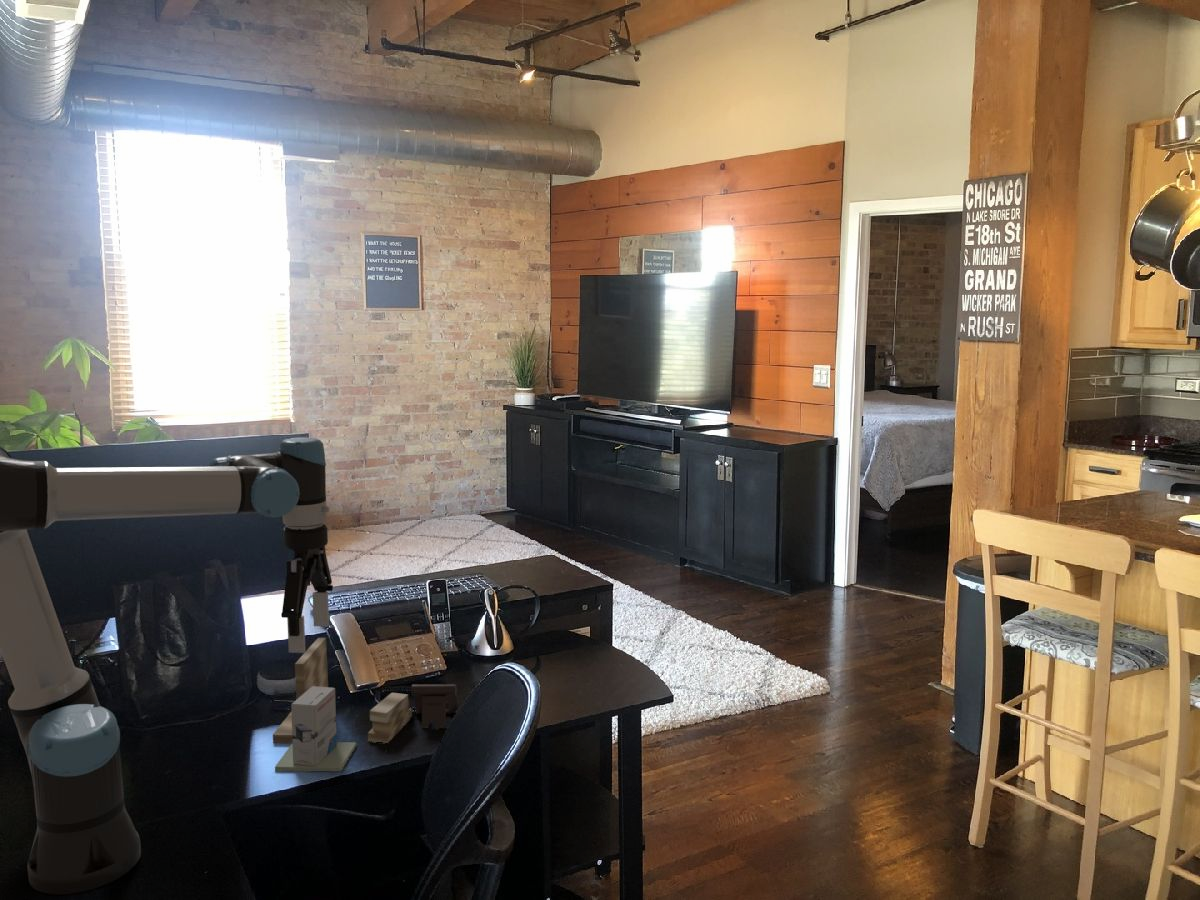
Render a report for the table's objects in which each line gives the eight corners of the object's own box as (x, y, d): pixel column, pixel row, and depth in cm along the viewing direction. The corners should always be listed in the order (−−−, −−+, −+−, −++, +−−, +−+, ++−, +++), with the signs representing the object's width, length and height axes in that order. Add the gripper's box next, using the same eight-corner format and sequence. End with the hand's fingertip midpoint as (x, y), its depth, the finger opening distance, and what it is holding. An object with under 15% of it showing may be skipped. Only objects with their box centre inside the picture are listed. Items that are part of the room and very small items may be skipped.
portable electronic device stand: (460, 711, 202) (459, 673, 201) (456, 728, 194) (455, 689, 193) (417, 712, 202) (416, 673, 201) (411, 729, 194) (410, 689, 193)
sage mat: (340, 772, 177) (340, 767, 177) (275, 770, 177) (274, 766, 177) (356, 746, 187) (356, 742, 186) (293, 745, 187) (293, 741, 187)
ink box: (314, 743, 186) (311, 684, 184) (339, 745, 185) (336, 686, 183) (292, 764, 178) (288, 703, 176) (317, 767, 177) (314, 705, 175)
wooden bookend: (307, 743, 188) (303, 663, 185) (273, 742, 188) (268, 663, 186) (329, 711, 202) (325, 637, 199) (297, 711, 202) (293, 637, 199)
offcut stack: (388, 744, 188) (387, 715, 187) (367, 742, 189) (366, 713, 188) (413, 718, 199) (412, 690, 198) (393, 716, 200) (392, 688, 199)
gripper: (302, 542, 162) (307, 664, 165) (346, 509, 187) (349, 616, 190) (258, 541, 162) (263, 663, 166) (307, 508, 187) (311, 615, 190)
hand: (309, 638), depth 178 cm, fingers open, 13 cm apart
